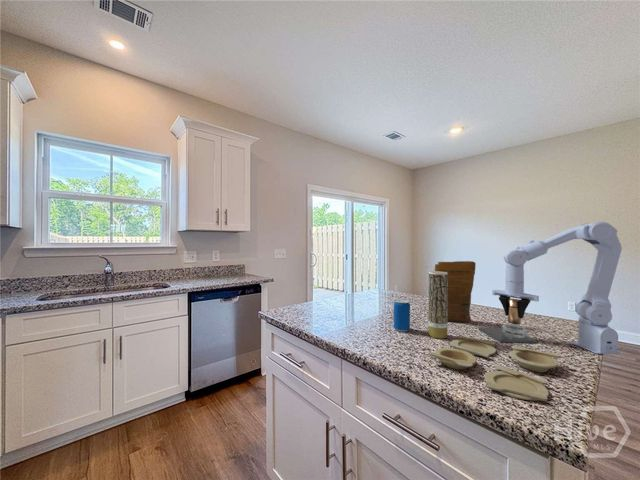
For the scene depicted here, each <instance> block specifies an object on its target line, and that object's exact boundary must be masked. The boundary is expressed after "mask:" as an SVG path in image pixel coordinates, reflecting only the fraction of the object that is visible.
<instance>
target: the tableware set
mask: <svg viewBox="0 0 640 480" xmlns="http://www.w3.org/2000/svg"><path fill="white" fill-rule="evenodd" d="M495 345H496V340H495V341H494V340H488V339H477V338H476V339H475V338H472V337H466V336H461V335H456V338H455V339H452V341H451V343H450V344H449V346H450V347H441V348H437V349H436V350H434V352H433V351H428V352H427V355H428V356H431V357H434V358H436V360H439V361H441V362H442V364H443V365H444V366H446V367H447V368H450V369H455V370H465V369H467V368H472V367H473V366H474V365H476V363H478V362H477V358H476V357H475V356H477V357H478V356H480V357H484V358H489V357H490V356H494V355H495V354H496V353H497V349H496V348H495V347H494V346H495ZM511 348H512V349H513V350H510V351H509V352H508V354H509V356H510V358H511V359H513V360H514V361H516V362H517V363H518V365H519V366H520V367H521V368H523V369H526V370H528V371H533V372H538V373H546V372H547V371H549V369H554V368H557V367H558V366H559V361H558V360H557V359H562V355H561V354H558V353H552V352H547V351H543V350H536V349H530V348H526V347H524V346H521V345H511ZM555 358H556V359H555ZM494 368H495V369H496V370H493V371H489V372H487V373H486V374H485V375H484V380H485V388H488V389H490V390H494V391H497V392H500V393H501V394H504V395H506V396H508V397H512V398H515V399H520V400H524V401H525V400H526V401H543V402H548V398H549V395H550V394H549V390H548V389H547V387H546V386H547V384H548V382H547V381H546V380H543V379H540V378H537V377H534V376H532V375H529V374H526V373H525V372H520V371H518V370H515V369H511V368H510V367H506V366H503V365H500V364H495V365H494Z"/></svg>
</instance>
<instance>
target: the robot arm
mask: <svg viewBox="0 0 640 480" xmlns="http://www.w3.org/2000/svg"><path fill="white" fill-rule="evenodd" d="M573 240H583V241H585V242H587V243H589V244H591V246H593V248H595V249H596V250H597V253H596V258H595V261H594V265H593V269H592V272H591V276H590V280H589V283H588V285H587V286H588V287H587V291H586V293H585V294H583V295H582V296H581V299H580V301H579V302H578V303H577V304H576V305H575V308H574V309H575V312H576V314H577V316H579V317H578V327H577V328H578V329H577V331H578V338H577V339H578V340H577V341H571V344H573V345H575V346H577V347H580V348H582V349H585V350H587V351H590V352H592V353H595V354H598V355H621V354H622V353H621V352H620V351H619V334H618V331H617V330H615V329H613V328H611V327H610V326H609V323H610V322H611V321H612V320H613V314H612V310H611V309H612V303H611V301H610V299H609V297H610V292H611V289H612V286H613V281H614V278H615V274H616V271H617V266H618V264H619V261H620V257H621V253H622V249H623V246H622V244H621V242H620V240H619V237H618V229H616V227H614V226H613V225H612V224H611V223H609V222H605V221H597V222H587V223H582V224H581V225H577V226H573V227H571V228H568V229H566V230H563V231H562V232H560V233H558V234H555V235H554V236H551V237H549V238H547V239H544V240H543V241H542V240H538V239H535V240H529V241H528V243H526V244H525V245H522V246H516V247H515V249H516V250H509V251H507V252H506V253H505V255H504V256H503V260H504V262H505V290H500V289H492V296H499V297H498V300H499V302H500V304H501V306H502V309H503V311H504V315H505V316H506V317H508V299H519V307H520V312H519V318H521V319H524V316H525V313H526V310H527V308H528V307H529V305H530V303H531V302H539V301H540V300H539V298H540V297H539V295H536V294H529V293H525V289H524V288H525V286H524V285H525V269H524V265H525V264H526V262H529V261H531V260H534V259H536V258H538V257H541V256H544V255H546V254H548V251H549V249H551V248H553V247H556V246H557V247H558V246H559V245H561V244H565V243H567V242H570V241H573Z"/></svg>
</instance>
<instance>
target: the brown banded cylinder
mask: <svg viewBox="0 0 640 480" xmlns="http://www.w3.org/2000/svg"><path fill="white" fill-rule="evenodd" d="M519 300H520V299H519V298H510V299H508V316H507V324H511V325H517V326H520V325H521V323H522V321H521V318H519V312H520V307H519Z"/></svg>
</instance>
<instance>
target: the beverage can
mask: <svg viewBox="0 0 640 480" xmlns="http://www.w3.org/2000/svg"><path fill="white" fill-rule="evenodd" d="M393 328H394V329H395V331H397V332H400V333H401V332H402V333H405V332H406V333H407V332H408V331H410V329H411V303H410V301H409V300H406V299H395V300H394V303H393Z"/></svg>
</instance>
